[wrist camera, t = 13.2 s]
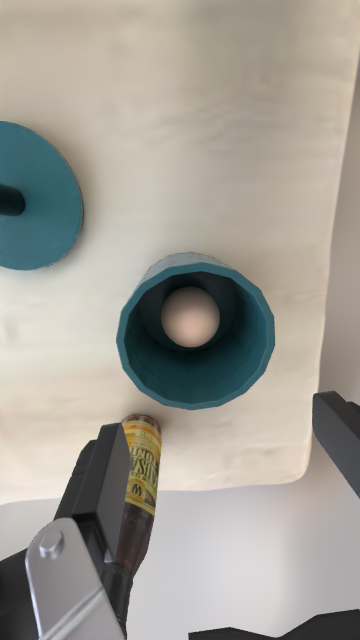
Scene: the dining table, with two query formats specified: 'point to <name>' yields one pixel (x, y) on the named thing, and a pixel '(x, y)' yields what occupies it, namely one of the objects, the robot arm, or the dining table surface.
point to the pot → (203, 361)
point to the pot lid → (35, 201)
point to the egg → (190, 316)
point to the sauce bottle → (134, 513)
